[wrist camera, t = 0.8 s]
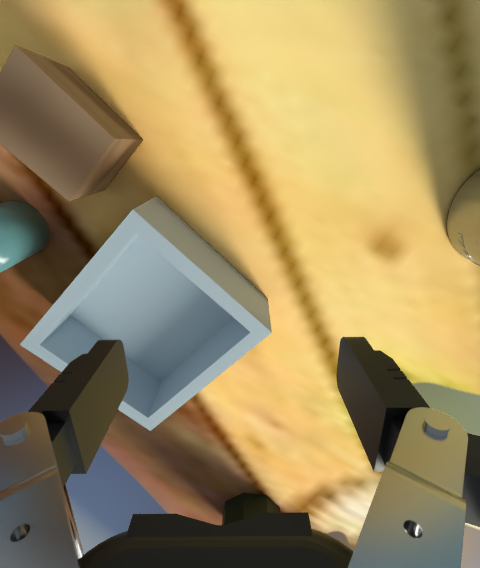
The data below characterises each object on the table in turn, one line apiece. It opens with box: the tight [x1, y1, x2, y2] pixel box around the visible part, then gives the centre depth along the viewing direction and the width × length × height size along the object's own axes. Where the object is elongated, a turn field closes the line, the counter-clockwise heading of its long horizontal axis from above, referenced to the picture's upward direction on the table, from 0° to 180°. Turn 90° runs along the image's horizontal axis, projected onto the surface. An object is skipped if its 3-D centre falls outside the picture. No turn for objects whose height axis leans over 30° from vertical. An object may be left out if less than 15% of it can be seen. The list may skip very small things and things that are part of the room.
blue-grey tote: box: [20, 196, 272, 431], centre depth 29 cm, size 16×14×6 cm
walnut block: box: [0, 45, 143, 201], centre depth 23 cm, size 6×7×6 cm
